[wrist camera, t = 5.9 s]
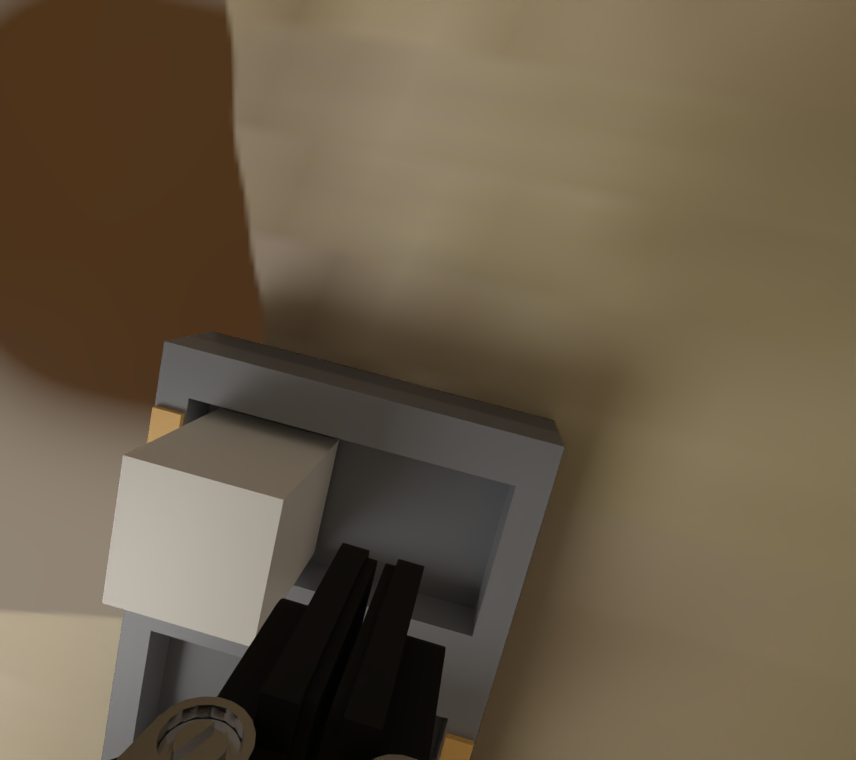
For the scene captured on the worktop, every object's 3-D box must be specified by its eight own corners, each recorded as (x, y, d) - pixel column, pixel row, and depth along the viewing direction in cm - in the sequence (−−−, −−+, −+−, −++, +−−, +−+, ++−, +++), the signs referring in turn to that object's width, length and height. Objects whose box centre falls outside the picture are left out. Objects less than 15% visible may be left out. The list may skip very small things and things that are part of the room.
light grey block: (219, 407, 19) (122, 455, 14) (338, 439, 18) (283, 499, 14) (200, 520, 19) (102, 603, 15) (313, 552, 19) (253, 647, 14)
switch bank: (212, 331, 20) (160, 341, 17) (553, 420, 19) (565, 449, 16) (121, 876, 25) (67, 963, 22) (392, 964, 24) (377, 1067, 21)
